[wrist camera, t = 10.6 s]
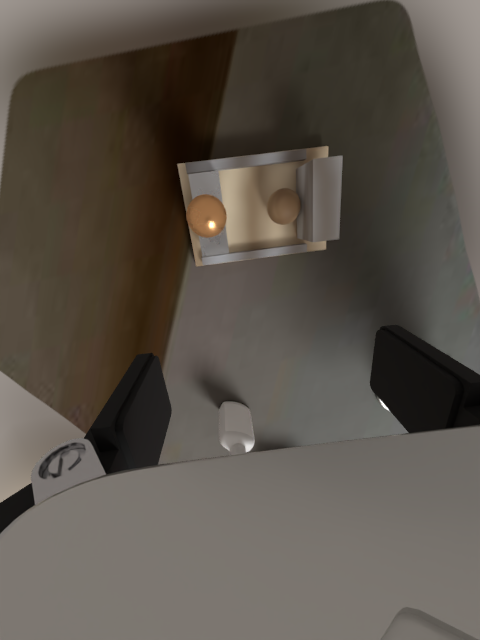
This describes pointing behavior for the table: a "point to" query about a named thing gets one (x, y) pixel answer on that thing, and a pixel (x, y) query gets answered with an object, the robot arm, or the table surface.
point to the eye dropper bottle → (235, 428)
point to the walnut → (283, 206)
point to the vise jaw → (208, 213)
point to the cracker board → (254, 192)
